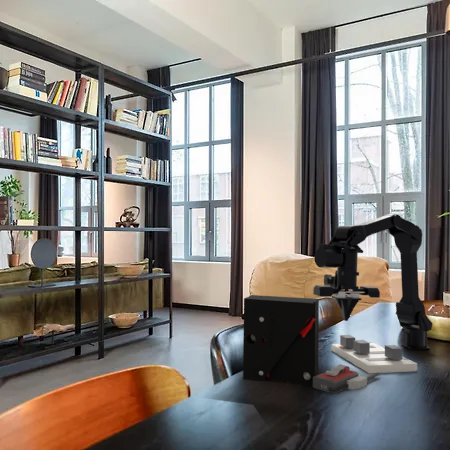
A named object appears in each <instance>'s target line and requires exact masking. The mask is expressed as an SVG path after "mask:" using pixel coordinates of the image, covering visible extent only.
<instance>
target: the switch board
mask: <svg viewBox="0 0 450 450" xmlns="http://www.w3.org/2000/svg"><path fill="white" fill-rule="evenodd" d="M369 343H370V354H359V353H357V352H355V351H354V350H353V348H345V347H343V346H341V345H340V343H332V344H331V351H332V352H333V353H335V354H337V355H338V356H340V357H341V358H343V359H345V360H347V361H348V362H350V363H351V364H353V365H354V366H356V367H358V368H360V369H361V370H363V371H364V372H366V373H368V374H375V373H377V372H378V373H379V374H380V373H381V374H384V373H385V374H386V373H403V372H407V373H408V372H417V371H418V363H417V362H414V361H413V360H410V359H408V358H406V357H404V356H402V359H401V360H392V359H390V358H388V357H386V356H385V347H382V346H380V345H379V344H376V343H374V342H369Z"/></svg>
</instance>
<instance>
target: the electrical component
mask: <svg viewBox="0 0 450 450" xmlns="http://www.w3.org/2000/svg"><path fill="white" fill-rule="evenodd" d="M319 301H320V300H319V298H313V297H310V298H308V297H293V296H292V297H291V296H274V295H273V296H272V295H258V294H257V295H256V294H254V295H253V294H250V295H249V296H246V297H244V298H243V346H242V347H243V349H242V351H243V352H242V353H243V355H242V356H243V357H242V360H243V362H242V363H243V364H242V379H243V380H249V381H252V380H253V381H259V382H260V381H271V382H281V383H288V384H295V385H303V386H312V387H313V377H314V376H317V375H319V342H320V341H319V326H320V325H319V319H320V315H319V313H320V311H319V309H320V307H319V306H320V305H319V304H320V302H319Z"/></svg>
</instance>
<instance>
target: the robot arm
mask: <svg viewBox="0 0 450 450" xmlns="http://www.w3.org/2000/svg"><path fill="white" fill-rule="evenodd" d="M335 229H336V230H335V232H334V234H333V236H332V238H331V239H330V241H329V242H328V244H325V243H320V244H319V245H318V246H319V248H317V249H316V251H315V254H314V257H313V258H314V259H313V260H314V263H315V265H316V267H318V268H320V269H321V268H325V269H327V268H330V269H331V268H333V269H334V268H336V269H337V270H335V272H334V276H332V274H327V273H326V274H324V275H323V285H322V284H317V285H316V284H315V285H314V286H313V289H312V290H313V293H312V294H313V295H315V296H318V297H325V298H326V297H327V298H328V297H329V298H330V297H331V299H335V301H336V302H337V305H338V307H339V310H340V313H341V316H342V319H343V321H344V322H348V321H349V319H350V317H351V315H352V313H353V311H354V309H355V307H356V305H357V304H358V303H359V302H360V301H362V299H363V298H362V297H361V296H368V297H369V298H373V299H375V298H377V299H379V298H381V291H380V289H379V288H378V287H375V286H370V285H369V286H365V285H364V286H363V285H361V286H359V285H358V282H357V281H358V276H360V271H358V254H363V253H364V250H363V249H362V248H361V247H360V244H361V243H363V242H364V241H365V240H366V239H367V238H368V237H370V236H372V235H375V234H378V233H380V232H383V231H386V230H387V232H388V234H389V235H391V236H392V237H393V239H394V245H395V247H396V249H398V250H397V251H399V253H400V274H401V275H400V276H401V294H402V295H401V298H400V300H399V302H398V301H397V302H395V311H396V312H395V316H396V317H397V319H398V322H399V327H401V328H402V327H403V328H404V329H403V330H404V331H403V333H402V343H400V344H401V346H403V347H405V348H407V349H410V350H413V351H415V350H430V349H431V347H430V346H428V332H429V331H432V328H433V322H432V321H431V320H430V318H429V317H428V316H427V314H426V307H425V305H424V303H423V301H422V300H421V298H420V296H419V273H418V272H419V271H418V270H419V268H418V252H419V250H420V249H421V246H422V245H423V244H422V243H423V242H422V241H423V230H422V228H420V226H419V225H416V223H413V222H412V221H409V220H407V219H406V218H403V217H402V216H401V215H399V214H397V213H392V214H391V213H390V214H388V213H387V214H385V215H383V216H380V217H377V218H374V219H371V220H368V221H365V222H362V223H358V224H351V225H340V226H338V227H337V228H335Z"/></svg>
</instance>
